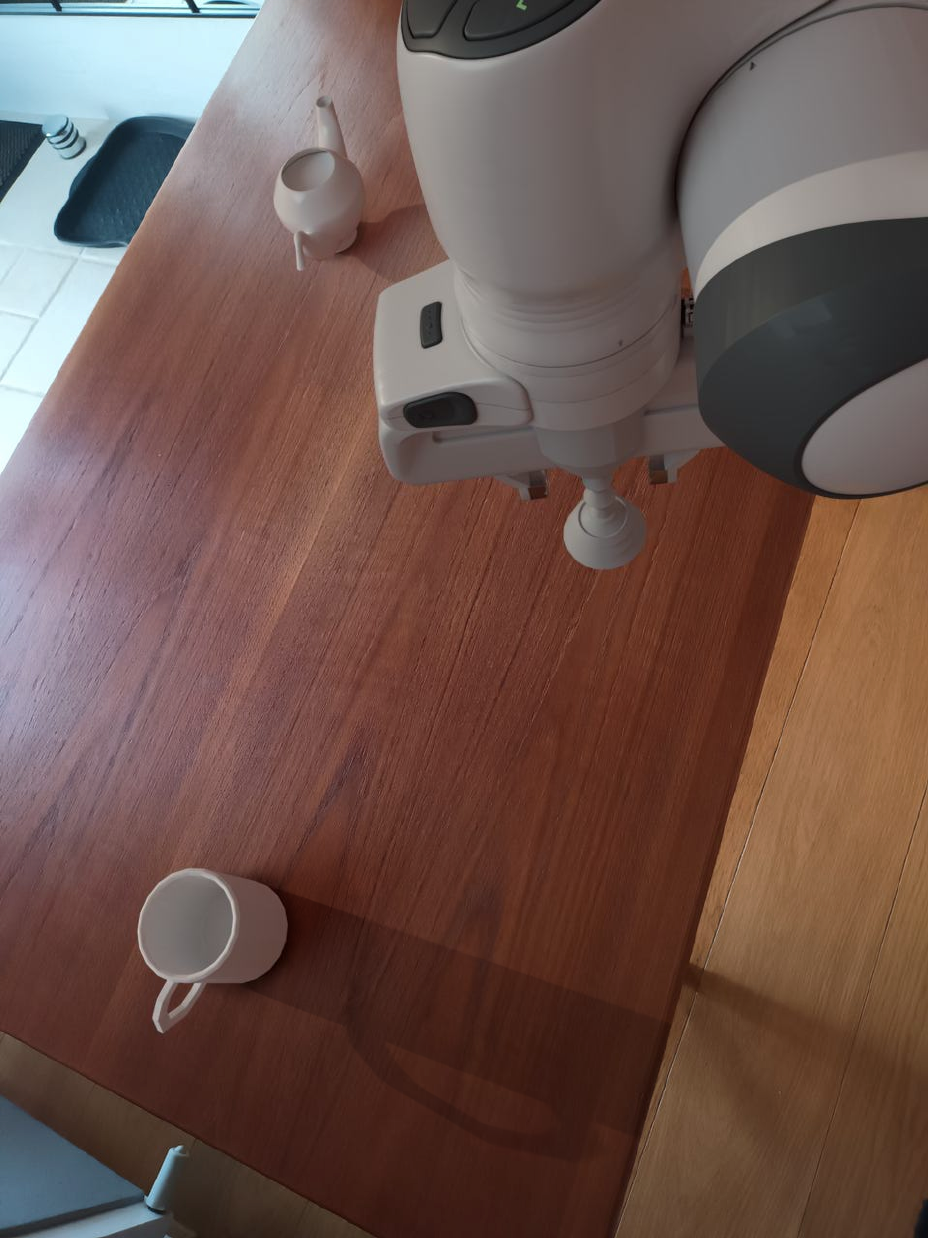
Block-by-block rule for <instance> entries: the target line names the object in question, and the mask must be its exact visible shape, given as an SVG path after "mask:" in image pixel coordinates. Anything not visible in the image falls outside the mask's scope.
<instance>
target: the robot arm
mask: <svg viewBox="0 0 928 1238" xmlns="http://www.w3.org/2000/svg"><path fill="white" fill-rule="evenodd" d="M399 12H400V13H399V18H398V25H397V31H396V33H397V34H396V70H397V80H398V87H399V94H400V101H401V106H402V112H403V118H404V123H405V129H406V133H407V137H408V138H407V139H408V143H409V148H410V151H411V155H412V159H413V163H414V167H415V171H416V175H417V178H418V182H419V186H420V190H421V193H422V196H423V200H424V203H425V207H426V210H427V213H428V216H429V220H430V222H431V225H432V229H433V231H434V234H435V236H436V239H437V241H438V243H439V244H440V246H441V248H442V249H443V251H444V252H445V254H446V256H447V257H448V258H447V259H445V260H443V261H442V262H439V263H438V264H436V265H433V266H432V267H429V268H428V269H425V270H423V271H421V272H419V273H416V274H413V275H412V276H410V277H408V278H405V279H403V280H400V281H397V282H395V283H394V284H391V285H390V286H387V287H386V288H385V289H383V290H382V291H381V292H380V294H379V295H378V299H377V305H376V310H375V311H376V312H375V320H374V328H373V329H374V330H373V341H372V344H373V345H372V362H373V363H372V370H373V371H372V372H373V385H374V394H375V400H376V405H377V413H378V414H377V415H378V417H377V420H378V422H377V423H378V442H379V447H380V450H381V454H382V457H383V460H384V462H385V465H386V467H387V470H388V471H389V473H390V475H391V476H392V478H393V479H394V480H396V481H398V482H401V483H403V484H407V485H410V486H414V487H420V486H429V485H435V484H443V483H451V482H457V481H458V482H459V481H466V480H474V479H481V478H487V477H488V478H489V477H492V479H493V480H495V481H497V482H500V483H502V484H505V485H506V486H508V487H511V488H514V489H516V490H518V491H519V494H520V497H521V501H522V502H526V501H533V500H534V501H535V500H540V499H542V500H543V499H547V498H549V497H550V494H549V488H548V483H549V481H548V470H551V469H559V468H560V467H559V466H558V465H556V464H555V463H554V462H552V461H551V460H550V459H548V458H547V457H545V456H544V455H543V454H542V453H541V449H540V445H539V442H538V438H537V434H536V431H535V430H534V429H533V428H532V426H535V427H538V428H542V429H547V430H554V431H583V430H589V429H594V428H598V427H602V426H605V425H608V424H611V423H614V422H616V421H618V420H621V419H623V418H625V417H627V416H628V415H630V414H632V413H634V412H635V411H637V410H638V409H640V408H641V407H642V406H644V405H645V404H646V412H645V415H644V416H643V441H642V442H641V443H640V445H639V446H638V447H637V449H636V450H635V451H634V453H633V454H632V456H631V457H630V459H636V458H646V464H647V471H648V482H649V485H650V486H654V485H662V484H663V485H664V484H672V483H677V482H678V470H680V469H681V468H682V467H683V466H684V465H686V464H687V463H689V461H690V460H692V459H693V458H695V456H697V455H698V454H699V453H700V452H701V450H707V449H714V448H722V447H727V448H729V449H730V450H731V451H732V452H734V453H735V454H736V455H738V456H739V457H740V458H742V460H745V461H746V462H748V463H749V464H751V465H752V466H753V467H755V468H756V469H757V470H759V471H761V472H763V473H765V474H767V475H768V476H771V477H772V478H774V479H776V480H778V481H779V482H782V483H784V484H787V485H788V486H792V487H794V488H796V489H799V490H801V491H804V492H806V493H809V494H813V495H815V496H819V497H822V498H826V499H833V500H842V501H844V500H845V501H847V500H848V501H850V500H851V501H853V500H869V499H874V498H876V499H877V498H882V497H886V496H892V495H896V494H900V493H904V492H907V491H911V490H914V489H917V488H920V487H923V486H926V485H928V0H402V2H401V7H400V11H399ZM686 269H687V270H688V275H689V276H688V277H689V281H690V287H691V291H692V296H688V297H682V275H683V274H682V273H683V272H684V271H685V270H686ZM560 469H561V468H560Z"/></svg>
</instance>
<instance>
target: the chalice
mask: <svg viewBox="0 0 928 1238" xmlns="http://www.w3.org/2000/svg"><path fill="white" fill-rule="evenodd" d="M645 412H646V404H645V405H644V406H642V407H641V408H640V409H638V410H637V411H635V412H634V413H632V414H630V415H628V416H627V417H625V418H623V419H621V420H618V421H616V422H614V423H611V424H608V425H605V426H602V427H598V428H594V429H589V430H583V431H554V430H547V429H542V428H538V427H535V426H532V428H533V429H534V430H535V431H536V434H537V438H538V442H539V445H540V449H541V453H542V454H543V455H544V456H545V457H547V458H548V459H550V460H551V461H552V462H554V463H555V464H556V465H558V466H559V467H560V469H562V470H564V472H567V473H569V474H572V475H574V476H577V477H579V478H581V482H582V485H583V486H584V487H585V489H584V491H583V499H581V500H580V501H579V502H578V504H577V505H575V507H574V509H572V511H571V512H570V513H569V514H568V516H567V518H566V520H565V523H564V526H563V541H564V544H565V547H566V551H568V553H569V554H570V555H571V556H572V558H573V559H574V560H575V561H577V562H578V563H580V564H581V565H583V566H585V567H587V568H591V569H595V570H613V569H616V568H619V567H622V566H623V567H624V566H625V565H626V564H628V563H630V562H631V561H633V560H634V559H635V558H636V557H637V556H638V554H639V553H640V552H641V551H642V550H643V548H644V545H645V542H646V540H647V538H648V537H647V536H648V531H647V530H648V526H647V525H648V524H647V522H646V519H645V516H644V514H643V512H642V511H641V510H640V509H639V508H638V507H637V506H636V504H635V503H632V502H631V501H630V500H627V499H626V498H625V497H624V496H622V495H620V494H619V493H617V492H616V490H615V487H614V486H612V482H613V475H612V474H613V473H615V472H616V471H617V470H618V469H620V468H621V467H622V466H624V465H625V464H626V463H627V462H628V461H629V460H630V459H631V458H630V457H631V456H632V454H633V453H634V451H635V450H636V449H637V447H638V446H639V445H640V443H641V442H642V441H643V416H644V415H645Z"/></svg>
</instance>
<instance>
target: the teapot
mask: <svg viewBox="0 0 928 1238" xmlns="http://www.w3.org/2000/svg"><path fill="white" fill-rule="evenodd" d="M334 104H335V103H334V101H333V99H332V97H331V96H329V95H322V96H320V97H319V98H317V99H316V101H315V109H316V121H317V131H318V134H317V135H318V140H317V141H318V143H317V144H318V145H317V146H313V147H307V148H304V149H301V150H299V151H297V152H295V153H293V154H292V155H291V156H289V157H288V158H287V160H286V161H284V163H283V164H282V165H281V168H280V169H279V172H278V174H277V177H276V180H275V185H274V190H273V198H272V199H273V200H272V201H273V207H274V211H275V213H276V215H277V217H278V219H279V222H281V224H282V225H283V227H284V228H285V229H286V230H287V231H288V232H289V233H291V234H292V235H293V244H294V248H295V255H296V256H295V257H296V259H295V260H296V269H297V270H298V271H299V272H301V271H304V270H305V269H306V267H307V261H306V259H305V256H306V257H307V258H309V259H311V260H312V261H315V262H317V261H318V262H323V261H326V260H328V259H330V258H332V257H333V256H334V255H335V254H337V253H340V252H343V251H345V250H347V249H348V248H350V247H351V246H352V245H353V244H354V242H355V241H356V239H357V237H358V236H357V235H358V226H359V225H360V222H361V220H362V218H363V216H364V212H365V207H366V188H365V183H364V179H363V177H362V174H361V172H360V170H359V168H358V167H357V166H356V165H355V163H354V162H353V161H351V160H350V159H349V157H348V151H347V148H346V144H345V140H344V136H343V132H342V129H341V125H340V122H339V119H338V115H337V112H336V108H335V105H334Z"/></svg>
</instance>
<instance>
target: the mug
mask: <svg viewBox="0 0 928 1238" xmlns="http://www.w3.org/2000/svg"><path fill="white" fill-rule="evenodd" d="M288 923H289V922H288V919H287V913H286V909H285V905H284V904H283V903H282V901H281V899H280V897H279V895H277V893H275V892H274V891H273V889H271V888H270V887H269V886H268V885H266V884H263V883H261V882H259V881H256V880H253V879H249V878H244V877H240V876H237V875H231V874H229V873H223V872H219V871H216V870H213V869H212V870H211V869H207V868H200V867H199V868H198V867H196V868H195V867H188V868H185V869H181V870H178V871H175V872H172V873H171V874H169V875H168V876H167V877H165V878H164V879H161V881H159V882H158V883H157V885H155V887H154V888H153V889H152V890H151V892H150V893H149V894H148V896H147V897H146V900H145V902H144V904H143V906H142V908H141V911H140V913H139V918H138V925H137V939H138V940H137V941H138V948H139V951H140V952H141V955H142V957H143V959H144V962H145V964H146V965H147V966H148V967H149V968H150V969H151V970H152V971H153V972H154V973H155V974H156V975H157V977H160V978H162V979H164V980H166V982H165V984H164V986H163V987H162V989H161V991H160V992H159V995H158V996H157V999H156V1001H155V1005H154V1009H153V1012H152V1017H151V1019H152V1021H153V1023H154V1026H155V1028H156V1030H157V1032H159V1033H162V1034H165V1033H167V1031H169V1030H170V1029H171V1028H172V1027H174V1026H175V1025H177V1023H179V1022H180V1021H182V1020H183V1019H184V1018H186V1017H187V1015H188V1014H189V1013H190V1011H191V1010H192V1008H193V1007H194V1005H195V1004H196V1002H197V1001H198V999H199V998H200V996H201V995H202V993H203V991H204V989H205V987H206V985H207V984H243V983H244V984H245V983H247V982H250V981H254V980H256V979H258V978H259V977H261V976H263V975H264V974H265V973H267V972H268V971H270V970H271V968H272V967H273V966H274V965H275V963H276V962H277V961H278V960H279V958H280V957H281V954H282V951H283V950H284V948H285V945H286V942H287V935H288V926H289V924H288ZM180 983H181V984H193V985H192V986H191V989H190V991H189V992H188V993H187V994H186V996H185V998H184V999H183V1001H181V1004H179V1005H178V1006H177V1007H175V1008H174V1009H173V1010H171V1011H170V1012H169V1013H168V1010H169V1005H170V1002H171V999H172V996H173V994H174V992H175V990H176V989H177V987H178V985H179V984H180Z"/></svg>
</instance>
